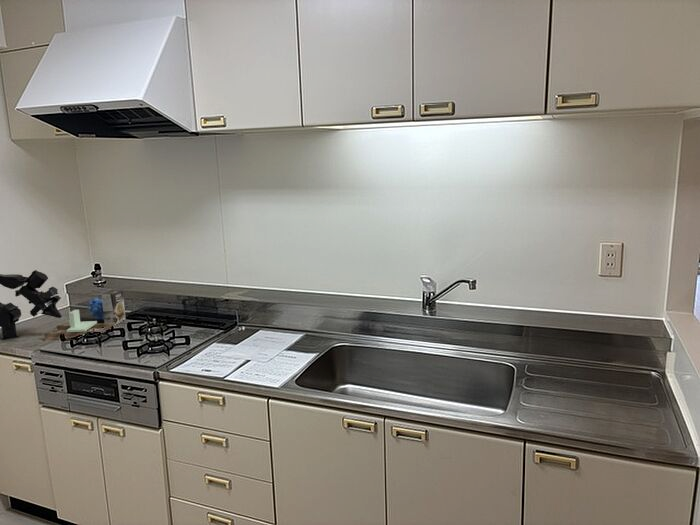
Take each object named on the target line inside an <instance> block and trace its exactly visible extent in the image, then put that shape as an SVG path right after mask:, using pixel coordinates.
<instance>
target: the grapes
mask: <svg viewBox="0 0 700 525" xmlns="http://www.w3.org/2000/svg"><path fill="white" fill-rule="evenodd" d="M88 304H89V306H88V310H89V311H91V316H92V317H93V318H94V317H95V318H96V319H97V321H101V320H104V315H103V304H102V298H100V299H99V298H98V297H97V296H96V297H94V298H93V299H90V300H89V302H88Z"/></svg>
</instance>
